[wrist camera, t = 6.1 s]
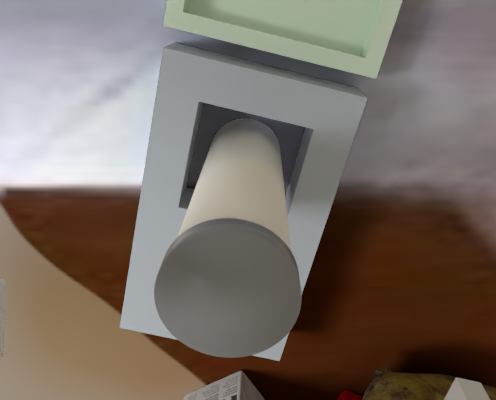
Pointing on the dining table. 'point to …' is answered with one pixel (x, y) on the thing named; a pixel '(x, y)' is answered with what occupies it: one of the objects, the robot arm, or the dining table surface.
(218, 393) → the coffee box
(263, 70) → the housing
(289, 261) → the cartridge
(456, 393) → the robot arm
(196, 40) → the dining table surface
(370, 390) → the potato
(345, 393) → the baking soda box
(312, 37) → the tray
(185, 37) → the dining table surface
